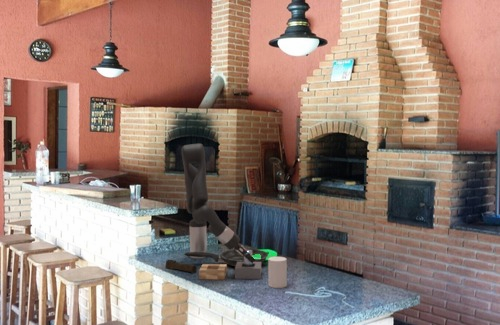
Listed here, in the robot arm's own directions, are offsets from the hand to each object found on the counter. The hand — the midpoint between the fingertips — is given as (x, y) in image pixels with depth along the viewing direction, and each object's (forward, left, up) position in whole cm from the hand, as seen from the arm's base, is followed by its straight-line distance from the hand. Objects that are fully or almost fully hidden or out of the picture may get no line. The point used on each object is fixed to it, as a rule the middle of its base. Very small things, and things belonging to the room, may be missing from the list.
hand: (251, 259), depth 243 cm
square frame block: (+1, -18, -8) cm, 20 cm away
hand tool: (-7, -36, -8) cm, 38 cm away
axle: (+1, -1, -8) cm, 8 cm away
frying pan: (-20, -12, -8) cm, 25 cm away
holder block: (0, -1, -8) cm, 8 cm away
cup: (+15, +13, -8) cm, 22 cm away
